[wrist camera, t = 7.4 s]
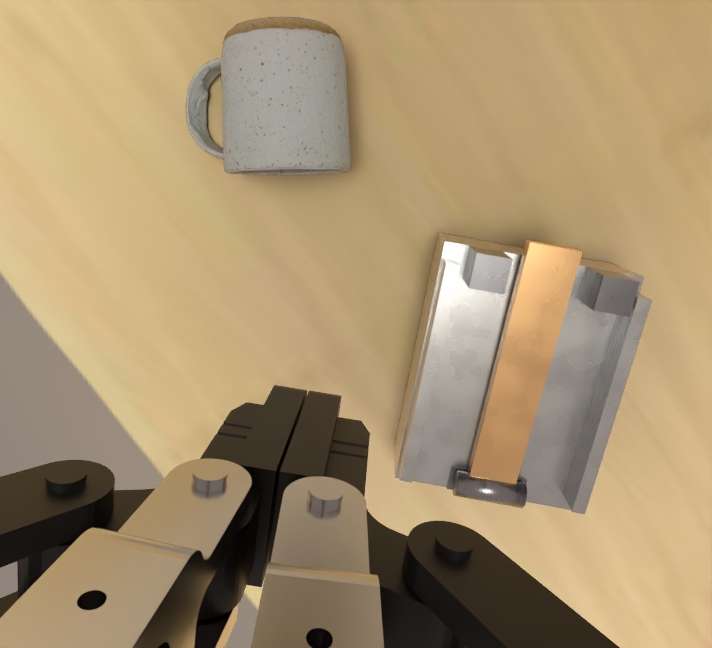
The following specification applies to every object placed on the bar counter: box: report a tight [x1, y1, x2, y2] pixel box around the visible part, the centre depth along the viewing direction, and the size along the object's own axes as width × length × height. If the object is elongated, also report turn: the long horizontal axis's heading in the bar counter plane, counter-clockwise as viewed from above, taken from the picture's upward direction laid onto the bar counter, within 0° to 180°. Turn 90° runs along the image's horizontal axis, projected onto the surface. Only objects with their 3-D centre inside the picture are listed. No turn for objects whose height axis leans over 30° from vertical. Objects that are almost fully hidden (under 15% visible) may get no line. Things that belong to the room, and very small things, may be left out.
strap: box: [453, 240, 583, 508], centre depth 35 cm, size 17×4×2 cm, turn 170°
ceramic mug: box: [186, 17, 351, 175], centre depth 34 cm, size 11×8×8 cm
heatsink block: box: [395, 233, 652, 514], centre depth 38 cm, size 16×12×8 cm
